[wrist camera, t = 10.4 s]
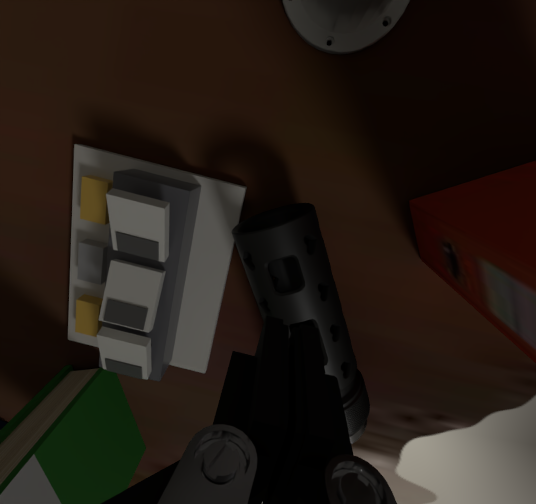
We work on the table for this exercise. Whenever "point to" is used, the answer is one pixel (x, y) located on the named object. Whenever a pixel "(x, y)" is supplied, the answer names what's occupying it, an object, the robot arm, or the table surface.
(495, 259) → the file binder
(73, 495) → the hardback book
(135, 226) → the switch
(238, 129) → the table surface
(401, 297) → the table surface
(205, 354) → the panel
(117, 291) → the switch middle
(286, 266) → the muzzle brake
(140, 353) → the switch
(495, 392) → the table surface
